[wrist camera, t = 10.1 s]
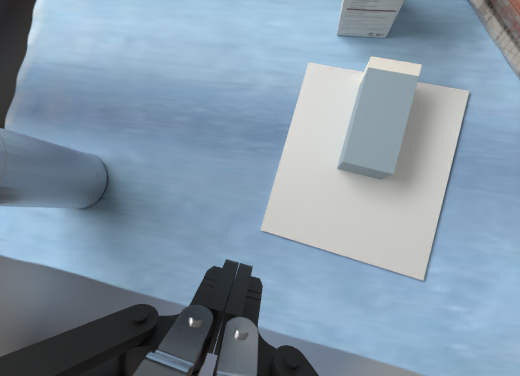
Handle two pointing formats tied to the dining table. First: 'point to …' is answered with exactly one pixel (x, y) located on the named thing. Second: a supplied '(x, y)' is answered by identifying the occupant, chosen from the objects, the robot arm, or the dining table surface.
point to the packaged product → (502, 26)
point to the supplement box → (368, 17)
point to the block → (379, 118)
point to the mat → (360, 186)
